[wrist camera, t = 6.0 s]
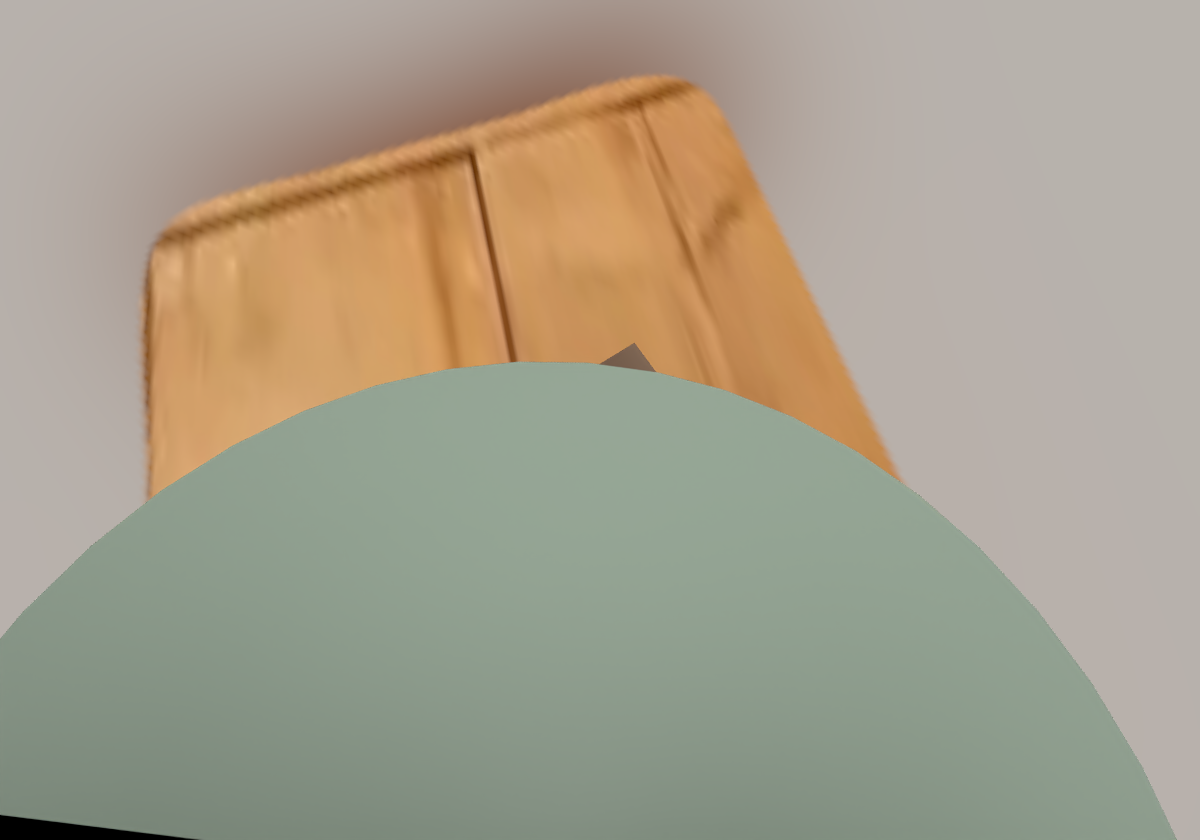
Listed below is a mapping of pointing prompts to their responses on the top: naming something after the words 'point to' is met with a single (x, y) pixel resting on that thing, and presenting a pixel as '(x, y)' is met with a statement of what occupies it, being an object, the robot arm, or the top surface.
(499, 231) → the top surface
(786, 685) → the peg
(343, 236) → the top surface
